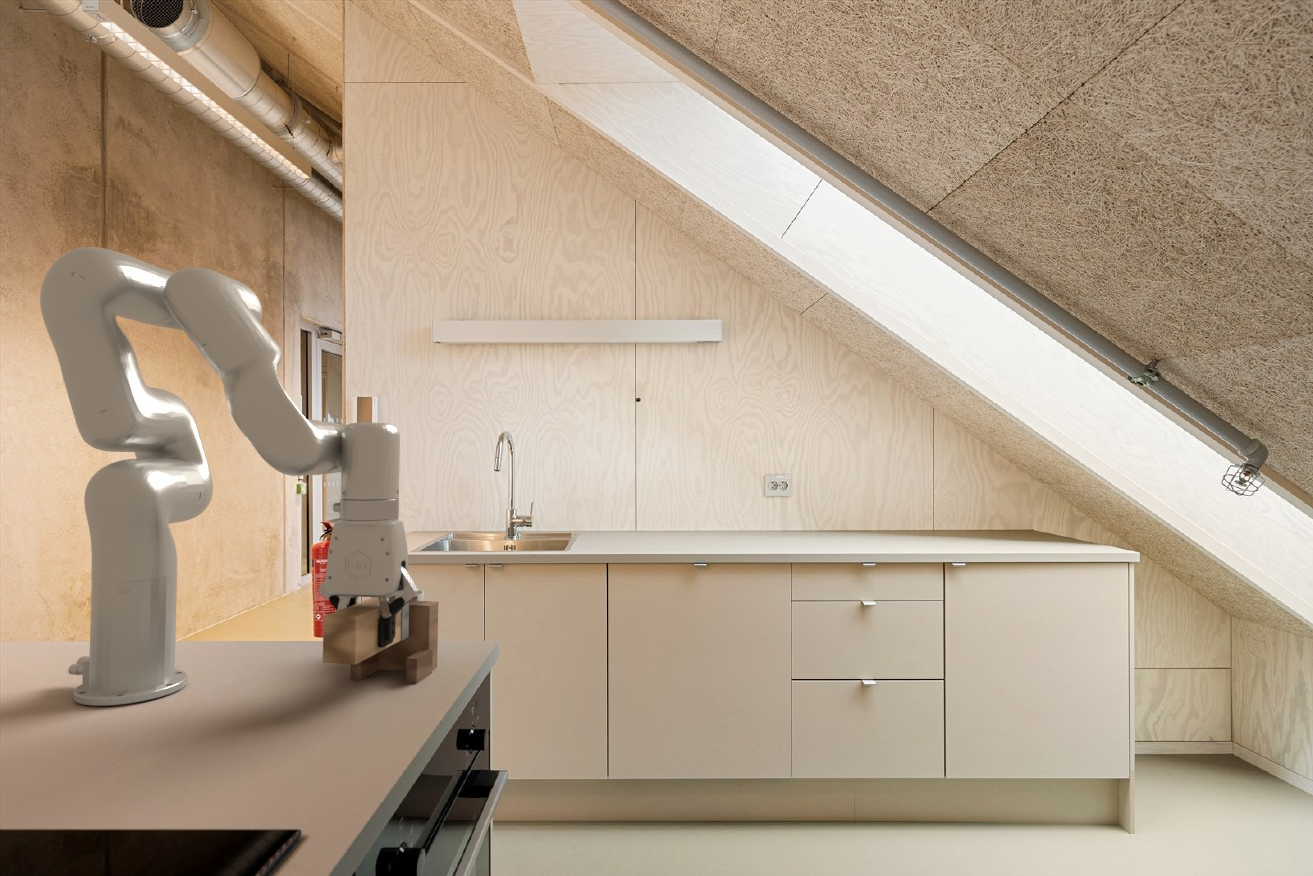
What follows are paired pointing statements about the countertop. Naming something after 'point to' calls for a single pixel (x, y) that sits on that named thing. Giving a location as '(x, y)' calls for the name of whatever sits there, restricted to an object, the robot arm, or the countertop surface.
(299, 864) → the countertop surface
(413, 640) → the wooden footed block
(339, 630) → the wooden block
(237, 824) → the countertop surface
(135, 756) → the countertop surface
